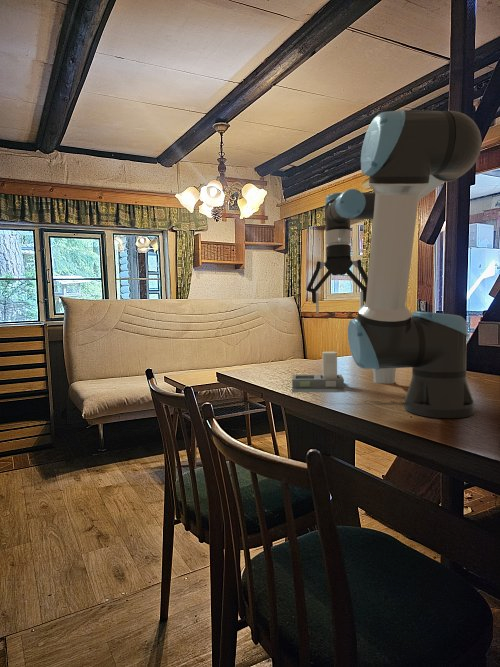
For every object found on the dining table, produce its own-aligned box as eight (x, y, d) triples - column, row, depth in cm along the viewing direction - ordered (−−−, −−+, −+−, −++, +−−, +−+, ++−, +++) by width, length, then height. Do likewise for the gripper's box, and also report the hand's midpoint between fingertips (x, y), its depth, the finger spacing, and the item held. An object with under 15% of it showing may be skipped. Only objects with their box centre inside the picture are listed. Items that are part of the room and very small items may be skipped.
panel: (345, 395, 121) (345, 383, 121) (291, 395, 123) (291, 383, 123) (339, 382, 141) (339, 371, 141) (293, 382, 143) (293, 371, 143)
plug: (337, 386, 129) (336, 353, 128) (323, 386, 129) (323, 353, 128) (336, 383, 133) (335, 351, 133) (323, 383, 134) (322, 351, 133)
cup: (394, 382, 138) (394, 344, 137) (400, 387, 130) (400, 347, 129) (368, 382, 139) (368, 345, 138) (373, 387, 131) (372, 348, 130)
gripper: (377, 244, 138) (378, 311, 139) (298, 248, 141) (300, 314, 143) (381, 241, 130) (382, 312, 131) (297, 245, 134) (299, 314, 135)
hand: (339, 313), depth 137 cm, fingers open, 13 cm apart
